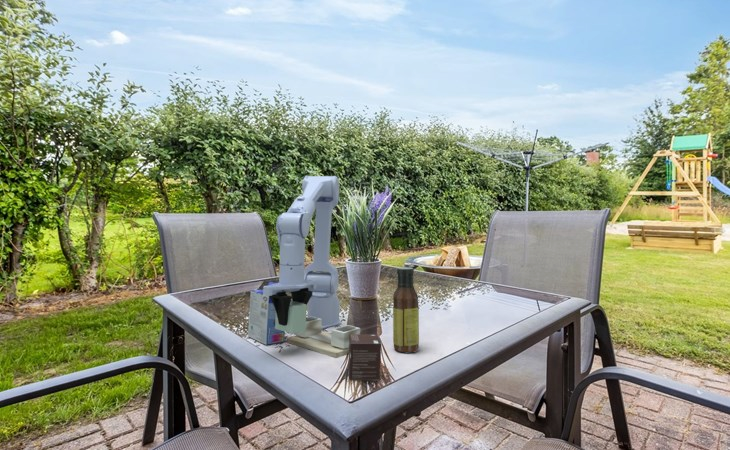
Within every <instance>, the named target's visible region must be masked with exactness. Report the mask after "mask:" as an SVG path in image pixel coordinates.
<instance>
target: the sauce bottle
mask: <svg viewBox="0 0 730 450" xmlns="http://www.w3.org/2000/svg"><path fill="white" fill-rule="evenodd" d="M414 274H415V273H414V268H413V267H407V266H404V267H403V266H401V267H397V268H396V275H397V287H396V288H395V290H394V292H393V294H392V295H393V296H392V297H393V298H392V300H393V301H392V304H393V305H392V339H393V340H392V341H393V348H394V350H395V351H397V352H400V353H403V352H412V353H415V352H414V351H416V352H417V351H418V350H419V347H420V346H419V344H420V325H419V324H420V321H419V320H420V316H419V315H420V314H419V312H420V311H419V310H420V308H419V296H418V294H417V292H416V289H415V287H414Z"/></svg>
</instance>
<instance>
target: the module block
mask: <svg viewBox="0 0 730 450" xmlns="http://www.w3.org/2000/svg"><path fill="white" fill-rule="evenodd" d="M306 318H307V306H306V304H304V303H301V302H296V301H293V300H292V299H291V302H290V305H289V310H288V322H287V325H286V326H283V325H280V324H279V322H278V318H277V313H276V318H275V329H278V330H281V331H285V332H286V333H288V334H293V335H294V333H297V332H301V331H305V330H306Z"/></svg>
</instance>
